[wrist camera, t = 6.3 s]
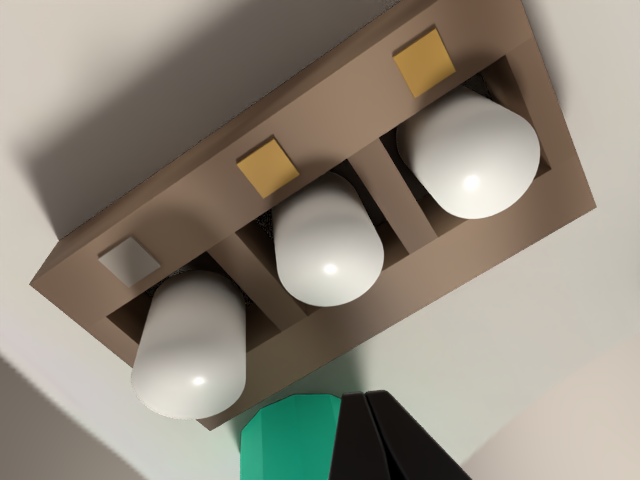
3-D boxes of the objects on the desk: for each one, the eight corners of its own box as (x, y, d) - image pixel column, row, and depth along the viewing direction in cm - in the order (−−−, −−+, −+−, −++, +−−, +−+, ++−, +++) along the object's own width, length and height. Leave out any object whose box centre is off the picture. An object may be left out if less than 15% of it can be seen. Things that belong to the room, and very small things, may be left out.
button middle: (330, 152, 15) (349, 192, 13) (376, 221, 17) (402, 271, 14) (253, 203, 16) (255, 253, 13) (304, 266, 17) (315, 323, 15)
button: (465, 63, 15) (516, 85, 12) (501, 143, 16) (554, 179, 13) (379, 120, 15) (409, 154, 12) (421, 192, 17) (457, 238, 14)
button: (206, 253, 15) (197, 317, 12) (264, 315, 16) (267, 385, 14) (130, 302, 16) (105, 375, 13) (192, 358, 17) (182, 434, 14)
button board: (462, -43, 14) (506, -46, 11) (552, 177, 17) (598, 208, 15) (58, 241, 16) (27, 286, 14) (214, 380, 20) (209, 433, 18)
